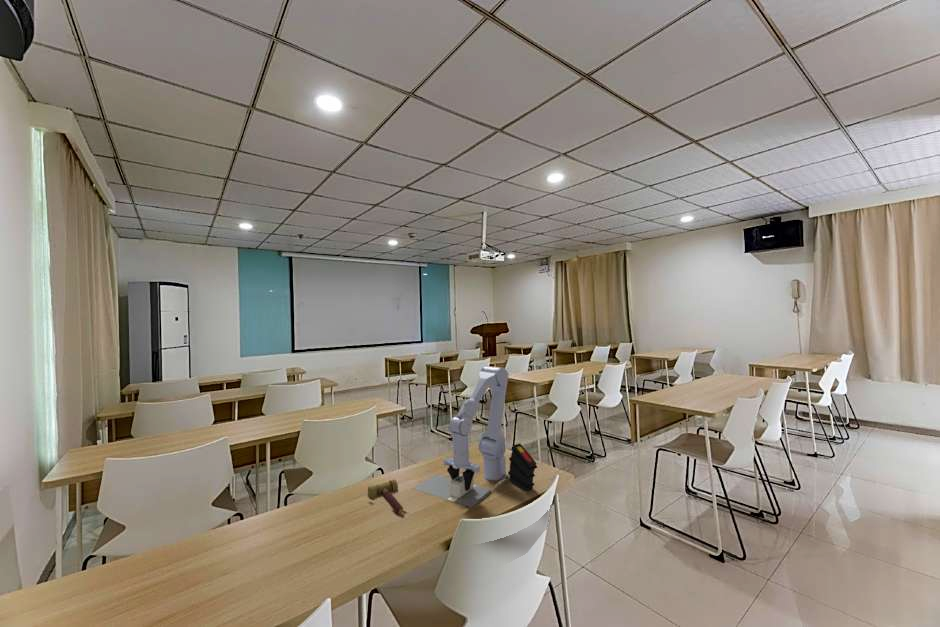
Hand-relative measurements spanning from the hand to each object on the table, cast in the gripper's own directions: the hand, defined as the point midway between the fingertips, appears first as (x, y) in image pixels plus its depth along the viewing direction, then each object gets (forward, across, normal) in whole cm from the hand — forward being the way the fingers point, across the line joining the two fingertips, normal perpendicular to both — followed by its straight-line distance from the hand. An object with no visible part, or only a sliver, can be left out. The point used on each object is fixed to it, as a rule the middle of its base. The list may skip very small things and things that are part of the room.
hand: (462, 487), depth 139 cm
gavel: (+3, -18, -18) cm, 25 cm away
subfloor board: (+2, -5, 0) cm, 6 cm away
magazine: (+3, +16, +17) cm, 24 cm away
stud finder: (+1, 0, 0) cm, 1 cm away
